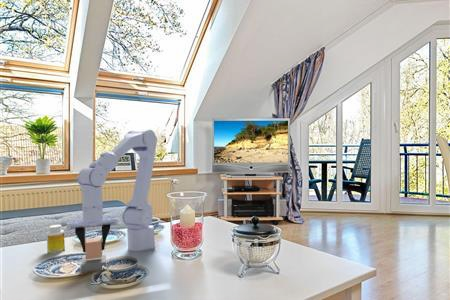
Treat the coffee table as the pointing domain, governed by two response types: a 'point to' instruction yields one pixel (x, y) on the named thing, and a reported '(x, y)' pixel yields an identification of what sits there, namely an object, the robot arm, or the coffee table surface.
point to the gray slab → (93, 264)
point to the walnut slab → (89, 271)
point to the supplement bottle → (55, 239)
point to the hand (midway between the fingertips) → (94, 250)
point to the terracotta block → (93, 248)
